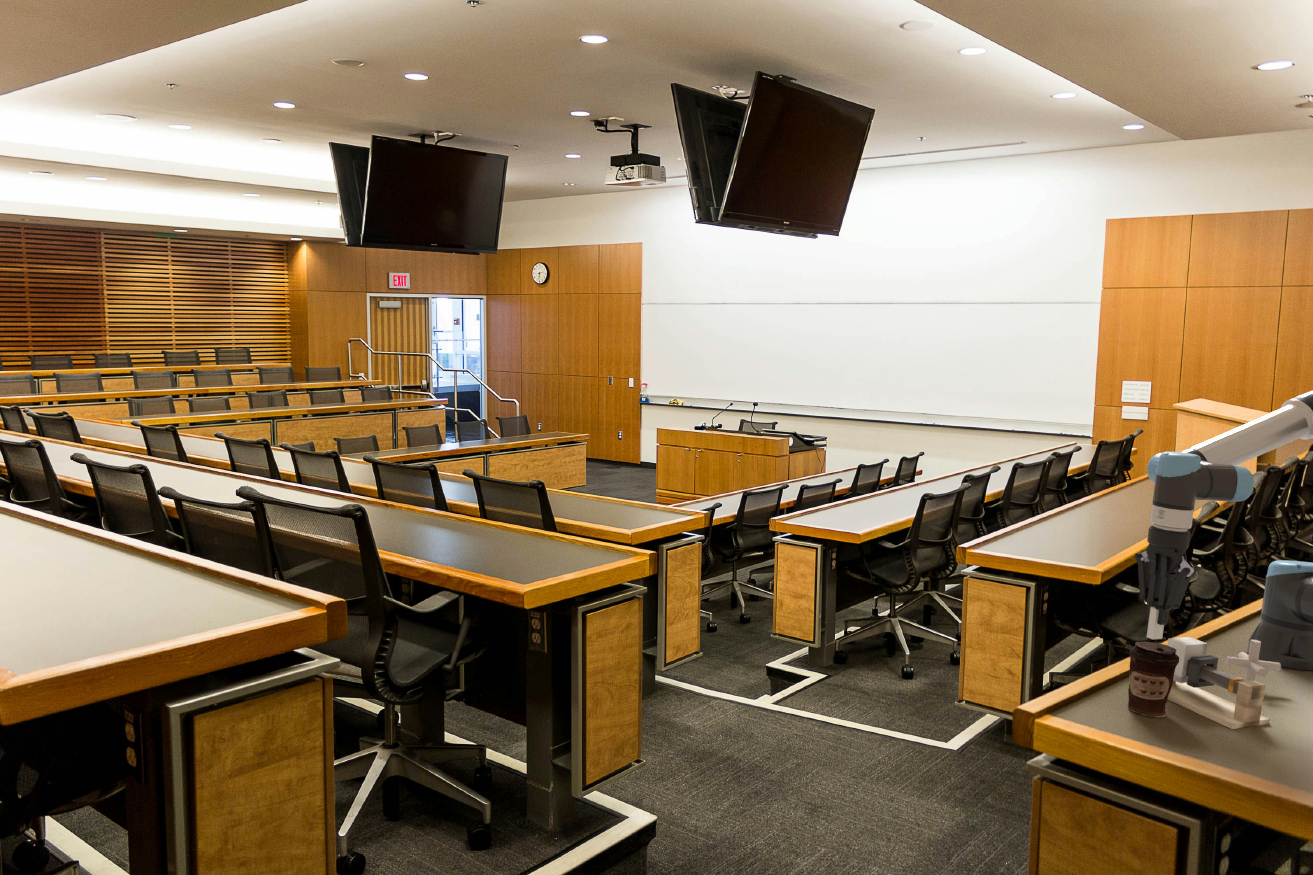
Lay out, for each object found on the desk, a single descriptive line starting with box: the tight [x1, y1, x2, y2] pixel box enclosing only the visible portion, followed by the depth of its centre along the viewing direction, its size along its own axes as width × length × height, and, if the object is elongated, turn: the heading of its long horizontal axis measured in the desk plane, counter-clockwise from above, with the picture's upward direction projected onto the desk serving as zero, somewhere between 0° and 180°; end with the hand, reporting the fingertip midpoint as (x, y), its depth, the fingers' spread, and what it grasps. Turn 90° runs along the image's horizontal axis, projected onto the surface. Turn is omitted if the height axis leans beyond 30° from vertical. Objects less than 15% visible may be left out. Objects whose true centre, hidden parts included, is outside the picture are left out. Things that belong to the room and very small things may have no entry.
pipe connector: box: [1224, 640, 1282, 682], centre depth 194 cm, size 10×10×10 cm
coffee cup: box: [1127, 641, 1179, 718], centre depth 176 cm, size 9×8×13 cm
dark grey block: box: [1187, 655, 1219, 688], centre depth 182 cm, size 6×2×6 cm, turn 111°
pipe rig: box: [1167, 660, 1271, 730], centre depth 182 cm, size 10×20×8 cm, turn 21°
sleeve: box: [1166, 636, 1208, 683], centre depth 186 cm, size 6×4×8 cm, turn 111°
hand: (1154, 637), depth 193 cm, fingers closed
